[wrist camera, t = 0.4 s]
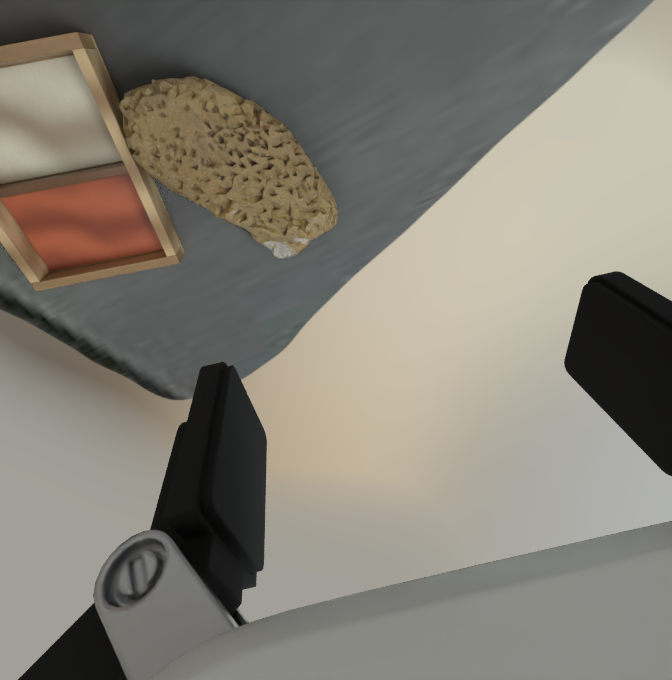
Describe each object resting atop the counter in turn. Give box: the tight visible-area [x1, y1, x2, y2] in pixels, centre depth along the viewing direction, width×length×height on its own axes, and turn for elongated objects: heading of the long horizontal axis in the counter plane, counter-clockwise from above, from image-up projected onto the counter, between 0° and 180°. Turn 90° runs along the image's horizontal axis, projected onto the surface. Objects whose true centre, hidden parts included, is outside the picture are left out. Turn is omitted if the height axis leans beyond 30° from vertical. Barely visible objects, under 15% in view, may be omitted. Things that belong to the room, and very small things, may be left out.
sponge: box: [119, 76, 338, 259], centre depth 36 cm, size 13×8×20 cm
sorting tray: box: [0, 32, 185, 291], centre depth 36 cm, size 20×16×3 cm
